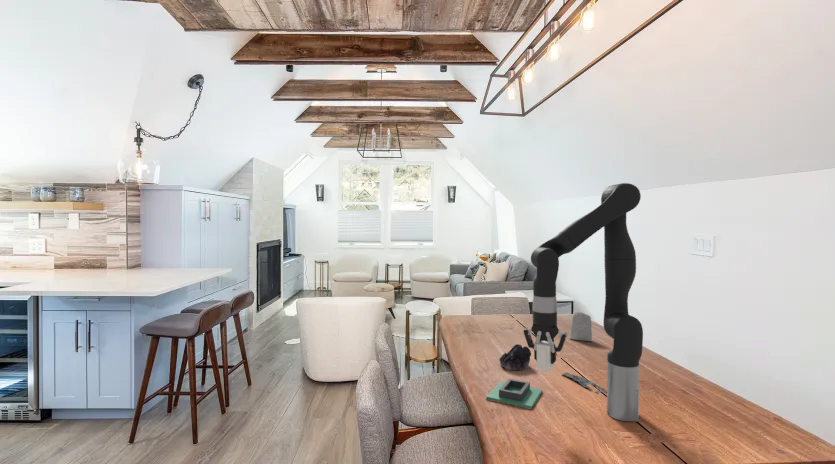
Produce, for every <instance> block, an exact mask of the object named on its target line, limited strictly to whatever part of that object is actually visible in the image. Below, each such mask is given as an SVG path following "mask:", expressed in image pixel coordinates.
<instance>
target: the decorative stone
mask: <svg viewBox="0 0 835 464" xmlns="http://www.w3.org/2000/svg"><path fill="white" fill-rule="evenodd" d="M571 316H572V317H571V323H570V331H569V338H570V340H573V341H575V340H576V341H584V342H585V341H586V342H591V341H592V339H593V333H592V331H593V330H592V326H593V325H592V320H591V319H592V318H591V316H590V315H589V314H586V313H584V312H582V311H579V310H575V311H573V313H572V315H571Z"/></svg>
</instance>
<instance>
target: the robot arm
mask: <svg viewBox="0 0 835 464" xmlns="http://www.w3.org/2000/svg"><path fill="white" fill-rule="evenodd" d="M641 199H642V198H641V191H640V189H639V187H637V186H636V185H635V184H633V183H629V182H628V183H627V182H623V183H616V184H613V185H609V186H607V187H606V188H604V190H603V191H602V193H601V198H600V205H598V206H596V208H594V209H593V210H592V211H590V212H588V213H587V214H584V215H583V216H581V217H579V218H578V219H576V220H574V221H572V222H571V223H570V224H568V225H567V226H566V227H565V228H564V229H562V230H561V231H559V232H558V233H557V234H556V235H555V236H553V237H552V238H550V239H548V240H547V241H545V242H544V243H542V244H541V245H539V246H537V247H536V248H535V249H534V250H533V251H532V253H531V255H530V262H531V263H532V265H533V266H534V267H535V268H536V277H535V278H534V279H533V292H532V293H533V298H532V306H531V307H532V325H531V327H530V328H528V327H526V328H525V329H524V330H523V334H524V338H525V340H526V344H527V347H528V348H529V349H533V354H534V355H533V356H534V360H535V362H536V363H537V344H539V343H540V342H541V341H546V342H548V343H549V345H550V346H551V364H553V365H554V364H555V363H556V361H557V352H561V351H562V350H563V347H564V345H565V341H566V339H567V336H568V333H567V332H563V331H561V330H560V329H559V327H558V302H557V301H558V300H557V284H556V283H557V279H558V274H559V268H560V260H559V259H560V257H562V256H563V255H566V254H571V252H573V251H574V250H576V249H577V248H578V247H580V246H581V245H582V244H583V243H585V241H587V240H588V239H589V238H591V237H592V236H593V235H594V234H596V233H597V232H599V230H601V229H602V228H604V231H603V233H604V234H603V238H604V242H603V243H604V254H603V255H604V259H603V260H604V282H605V283H604V286H605V287H604V288H605V289H604V290H605V291H604V292H605V298H604V299H605V300H604V301H605V302H604V311H603V329H604V331H605V333H606V334H607V335H608V336H609V337H610V338H612V339H613V344H612V350H609V351H608V352H607V355H606V357H607V359H606V362H607V363H606V365H607V367H606V368H607V369H606V372H607V373H606V377H607V378H606V390H607V393H606V414H607V415H608V416H609V417H610V418H613V419H615V420H618V421H623V422H639V418H640V417H639V415H640V414H639V413H640V412H639V411H640V409H639V408H640V399H639V398H640V385H639V383H640V377H639V376H640V360H641V358H642V355H643V345H644V344H643V341H644V340H643V339H644V329H643V325H642V323H641V322H640V320H639V319H638V318H636V317H634V316H633V315H630V314H629V307H628V306H629V304H628V301H629V299H628V297H629V292H630V290H631V288H632V286H633V285H634V280H635V278H636V273H637V258H636V257H637V256H636V255H637V253H636V249H635V246H634V243H633V241H632V239H631V236H630V234H629V230H628V226H627V213H629V212H630V211H633V210H634V209H635V208H637V206H638V205H639V203H640V201H641ZM532 333H533V335H534V336H535V341H534V340H533V338H532ZM557 335H558V338H559V342H558V345H556V341H555V338H556V337H557Z"/></svg>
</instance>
